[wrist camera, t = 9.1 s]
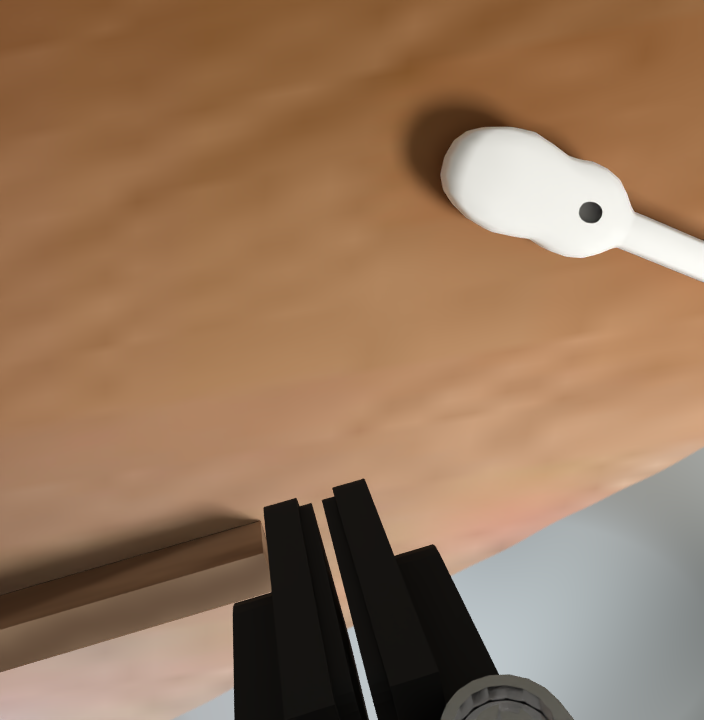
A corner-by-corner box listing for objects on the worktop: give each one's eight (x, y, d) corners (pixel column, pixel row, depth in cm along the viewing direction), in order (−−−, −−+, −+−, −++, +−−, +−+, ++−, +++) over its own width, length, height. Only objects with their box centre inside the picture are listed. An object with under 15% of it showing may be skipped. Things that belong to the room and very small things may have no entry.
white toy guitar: (816, 263, 45) (853, 272, 42) (772, 339, 46) (805, 352, 44) (458, 105, 37) (476, 104, 34) (419, 203, 38) (433, 209, 36)
